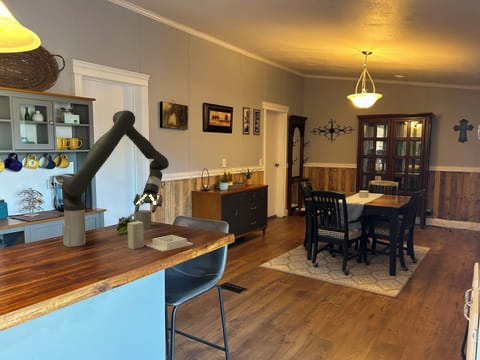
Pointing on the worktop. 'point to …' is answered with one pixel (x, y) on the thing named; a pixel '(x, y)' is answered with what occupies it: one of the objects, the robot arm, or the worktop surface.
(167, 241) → the holder
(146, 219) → the coffee mug
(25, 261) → the worktop surface
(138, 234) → the skincare box
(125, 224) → the green bumpy clump
